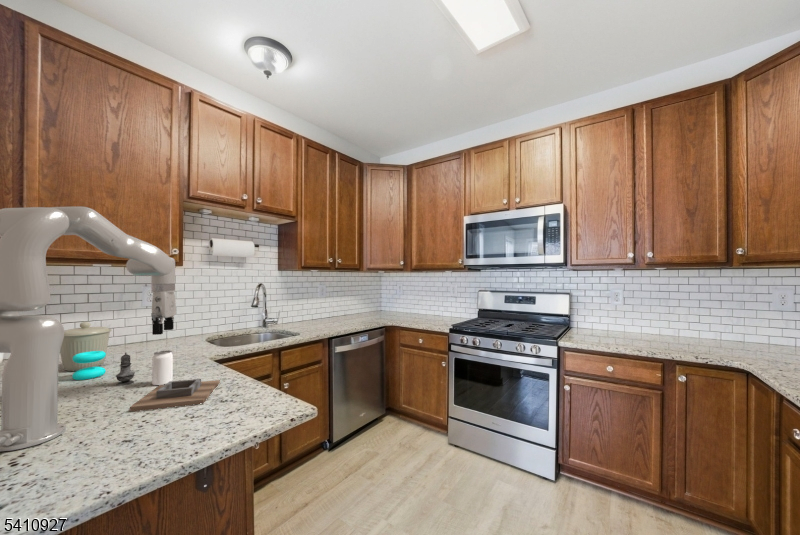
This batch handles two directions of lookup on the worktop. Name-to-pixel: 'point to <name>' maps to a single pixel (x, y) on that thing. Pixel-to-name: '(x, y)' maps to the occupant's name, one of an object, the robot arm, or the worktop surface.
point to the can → (162, 367)
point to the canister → (83, 345)
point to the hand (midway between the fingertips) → (163, 332)
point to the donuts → (90, 371)
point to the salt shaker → (125, 371)
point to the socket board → (176, 394)
